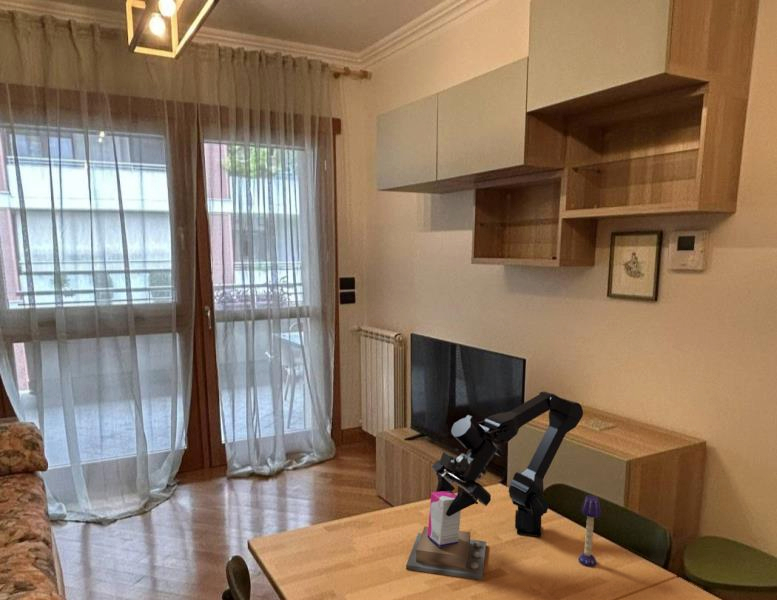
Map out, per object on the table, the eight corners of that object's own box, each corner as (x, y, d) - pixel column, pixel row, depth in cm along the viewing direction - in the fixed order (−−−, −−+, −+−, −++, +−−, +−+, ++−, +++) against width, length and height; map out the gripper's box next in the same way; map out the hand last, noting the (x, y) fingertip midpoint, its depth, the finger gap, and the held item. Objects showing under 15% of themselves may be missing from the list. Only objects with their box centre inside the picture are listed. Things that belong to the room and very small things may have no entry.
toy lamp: (598, 559, 134) (601, 494, 132) (599, 569, 129) (601, 502, 128) (578, 556, 135) (580, 491, 134) (578, 565, 131) (580, 499, 130)
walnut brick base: (486, 545, 140) (486, 530, 140) (482, 580, 124) (482, 563, 124) (418, 536, 144) (418, 521, 144) (406, 569, 129) (406, 552, 128)
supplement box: (459, 543, 133) (462, 498, 133) (439, 547, 130) (442, 501, 130) (445, 533, 138) (449, 489, 138) (426, 536, 135) (429, 492, 135)
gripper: (438, 430, 143) (401, 478, 138) (481, 452, 126) (442, 508, 122) (461, 454, 147) (427, 502, 143) (507, 478, 131) (470, 533, 126)
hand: (440, 510), depth 133 cm, fingers closed on supplement box, 6 cm apart
